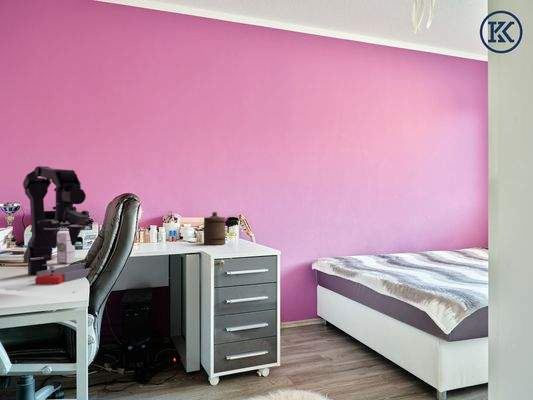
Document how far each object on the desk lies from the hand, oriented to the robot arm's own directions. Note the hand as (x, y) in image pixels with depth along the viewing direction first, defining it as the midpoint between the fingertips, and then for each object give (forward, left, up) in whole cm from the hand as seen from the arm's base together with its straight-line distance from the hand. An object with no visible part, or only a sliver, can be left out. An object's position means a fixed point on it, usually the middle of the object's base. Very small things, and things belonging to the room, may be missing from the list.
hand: (64, 246), depth 148 cm
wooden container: (-6, +138, -13) cm, 139 cm away
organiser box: (-5, +11, -12) cm, 17 cm away
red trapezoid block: (-2, -3, -13) cm, 14 cm away
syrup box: (-36, +37, -13) cm, 53 cm away
